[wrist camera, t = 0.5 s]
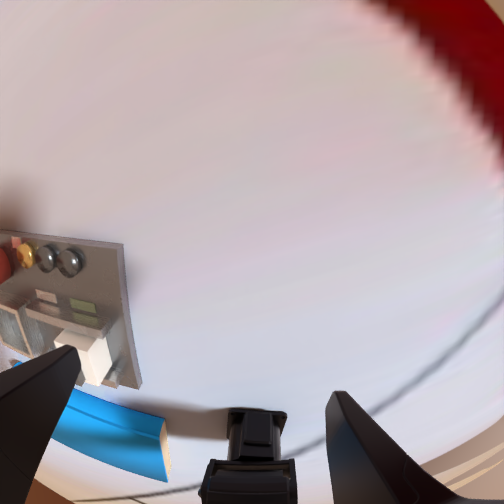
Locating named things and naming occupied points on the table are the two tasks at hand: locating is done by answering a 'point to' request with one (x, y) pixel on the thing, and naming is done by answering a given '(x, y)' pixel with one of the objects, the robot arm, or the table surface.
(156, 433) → the book
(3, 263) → the cap
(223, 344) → the table surface
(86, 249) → the panel
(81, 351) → the breaker
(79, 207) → the table surface
